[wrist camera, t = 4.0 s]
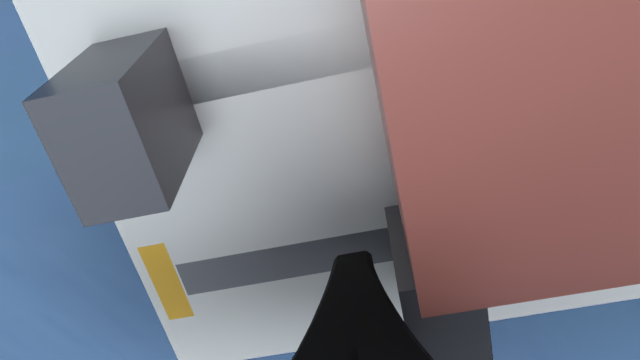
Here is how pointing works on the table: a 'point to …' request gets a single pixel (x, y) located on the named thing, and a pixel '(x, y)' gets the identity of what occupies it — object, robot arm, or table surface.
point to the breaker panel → (226, 157)
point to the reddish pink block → (511, 144)
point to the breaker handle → (438, 331)
